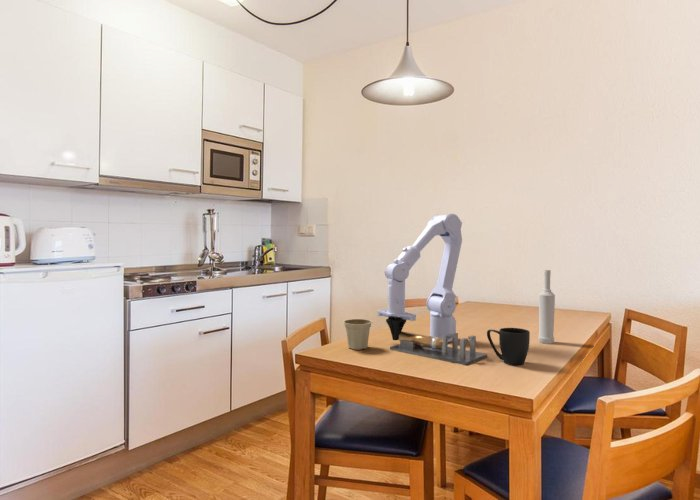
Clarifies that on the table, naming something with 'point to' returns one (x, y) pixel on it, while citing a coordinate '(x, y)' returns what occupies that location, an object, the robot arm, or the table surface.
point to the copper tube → (422, 340)
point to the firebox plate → (437, 353)
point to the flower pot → (357, 333)
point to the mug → (512, 345)
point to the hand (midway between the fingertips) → (396, 339)
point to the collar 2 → (463, 346)
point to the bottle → (546, 312)
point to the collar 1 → (445, 342)
